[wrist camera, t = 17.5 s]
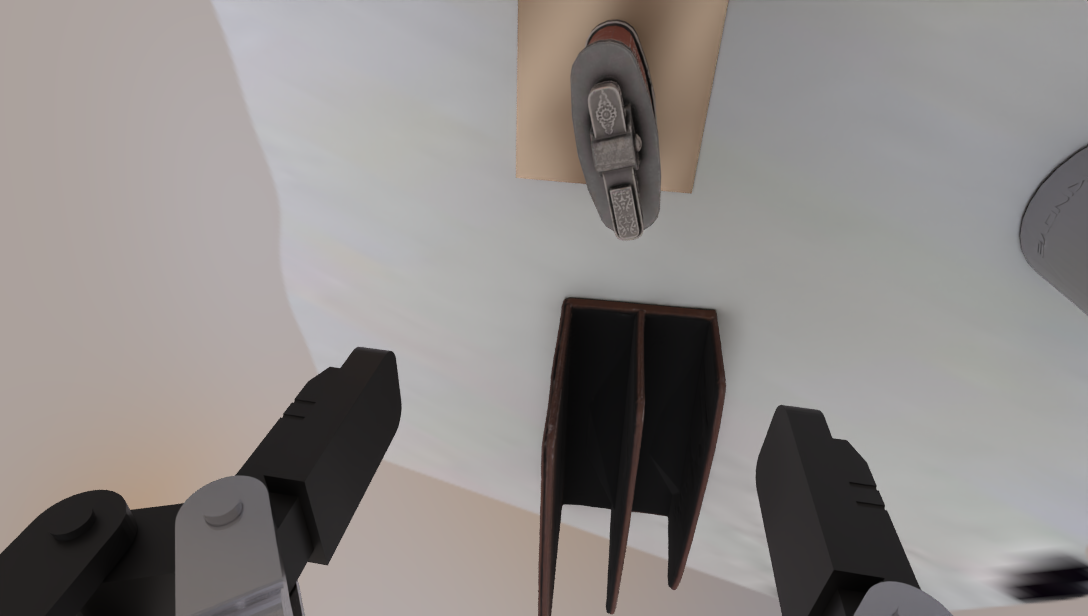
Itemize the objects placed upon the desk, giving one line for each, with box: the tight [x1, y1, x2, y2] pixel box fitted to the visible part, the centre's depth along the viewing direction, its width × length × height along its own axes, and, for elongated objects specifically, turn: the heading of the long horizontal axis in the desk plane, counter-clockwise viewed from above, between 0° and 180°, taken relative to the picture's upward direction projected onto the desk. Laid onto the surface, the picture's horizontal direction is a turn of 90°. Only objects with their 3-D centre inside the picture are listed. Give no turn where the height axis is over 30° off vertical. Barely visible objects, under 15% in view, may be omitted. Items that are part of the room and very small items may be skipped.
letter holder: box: [538, 298, 726, 616], centre depth 36 cm, size 10×20×14 cm, turn 0°
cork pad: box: [516, 0, 729, 193], centre depth 30 cm, size 10×10×1 cm
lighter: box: [570, 19, 661, 241], centre depth 25 cm, size 8×3×10 cm, turn 15°
